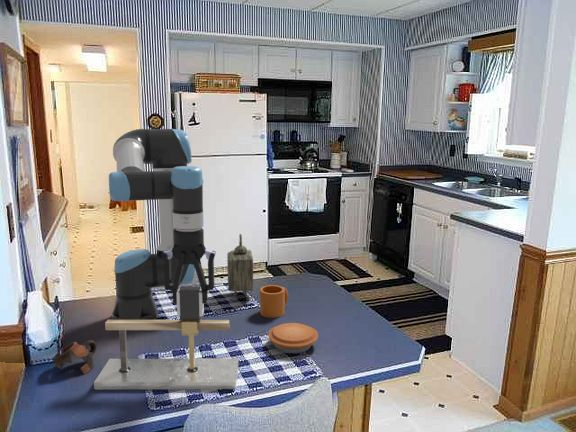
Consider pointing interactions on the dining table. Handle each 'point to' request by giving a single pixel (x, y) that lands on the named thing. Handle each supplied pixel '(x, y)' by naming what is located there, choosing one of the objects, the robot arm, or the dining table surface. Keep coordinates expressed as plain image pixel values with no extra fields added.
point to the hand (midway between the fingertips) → (190, 314)
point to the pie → (293, 337)
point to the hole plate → (169, 374)
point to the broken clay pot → (77, 355)
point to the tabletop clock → (240, 269)
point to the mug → (273, 301)
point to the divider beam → (155, 325)
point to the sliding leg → (190, 316)
